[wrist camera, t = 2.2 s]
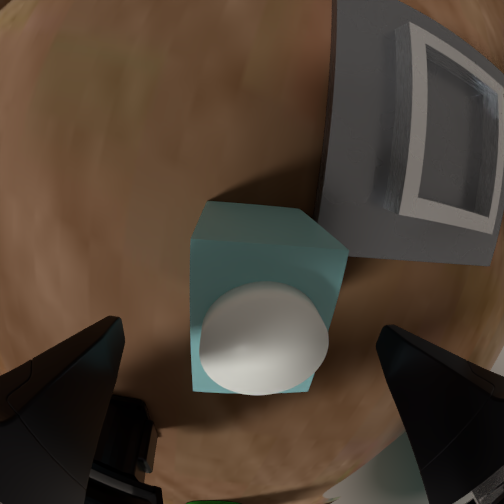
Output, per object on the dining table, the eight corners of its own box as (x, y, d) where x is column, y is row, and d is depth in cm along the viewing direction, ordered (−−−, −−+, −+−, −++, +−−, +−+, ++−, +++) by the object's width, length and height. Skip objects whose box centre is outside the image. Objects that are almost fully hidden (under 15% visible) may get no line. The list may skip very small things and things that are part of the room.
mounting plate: (308, 248, 14) (321, 265, 12) (331, -18, 8) (346, -37, 6) (483, 262, 16) (501, 273, 14) (501, 79, 10) (520, 77, 8)
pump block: (202, 309, 15) (191, 411, 8) (207, 200, 13) (185, 252, 6) (282, 313, 15) (313, 409, 9) (299, 208, 13) (364, 263, 7)
